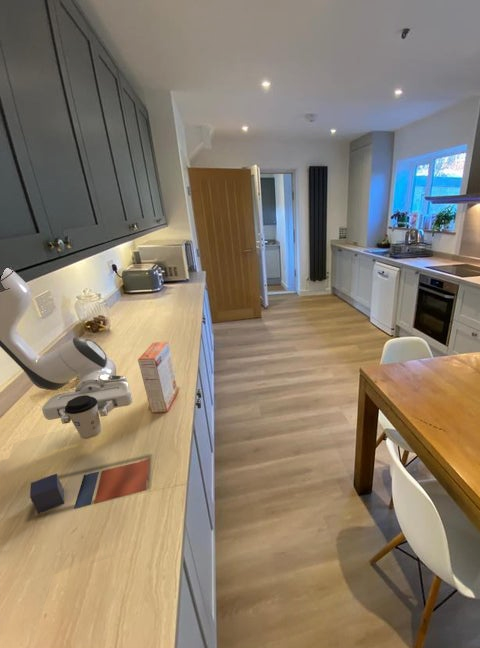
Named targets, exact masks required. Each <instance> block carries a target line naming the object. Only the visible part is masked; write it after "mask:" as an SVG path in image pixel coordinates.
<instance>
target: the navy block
mask: <svg viewBox="0 0 480 648" xmlns="http://www.w3.org/2000/svg"><path fill="white" fill-rule="evenodd" d="M29 491H30V492H29V498H30V500H31V502H32V504H33V506H34V508H35V511H36V512H37V515H39V514H42V513H45V512H47V511H49V510H52V509H54V508H56V507H59V506H61V505H64V504H65V492H64V491H65V490H64V487H63V484H62V482H61V480H60V477H59V475H58V473H54V474H51V475H48V476H45V477H43V478H41V479H38V480H35V481H32V482H30V489H29Z"/></svg>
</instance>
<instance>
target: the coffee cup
mask: <svg viewBox="0 0 480 648" xmlns="http://www.w3.org/2000/svg"><path fill="white" fill-rule="evenodd" d="M97 402H98V401H97V399H96V398H94V397H90V396H88V395H83V396H78V397H76V398H74V399H72V400H70V401H68V403H67V405H66V407H65V412H66V413H68V415H69V417H70V419H71V422H72V424H73V426H74V428H75V430H76V431H77V433H78V435H79V436H80V438H81V439H83V440H89V439H93V438H95V437H97V436H98V435H100V434H101V432H102V425H101V421H100V414H99V411H98V406H97Z"/></svg>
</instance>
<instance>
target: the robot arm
mask: <svg viewBox="0 0 480 648" xmlns="http://www.w3.org/2000/svg"><path fill="white" fill-rule="evenodd" d="M11 269H12V268H11ZM11 269H9V268H6V269H5V270H4V272H3V275H2V276H1V280H2V279H3V280H2V281H1V283H2V285H3V287H4V288H5V289H8V288H10V289H8V290H5V291H4V292H0V348H1V349H2V350H3V351H4V352H5V353H6V354H7V355H8V356H9V358H11V360H13V361H14V362H15V363H16V364H17V366H18V367H20V368H21V370H22V371H23V372H24V373H25V374H26V376H27V377H28V379H29V380H30V381H31V382H32V384H33V385H34V386H36V387H37V388H39V389H42V390H46V391H58V390H60V389H61V388H64V386H65V385H68V384H69V382H71V381H72V380H74V379H75V378H78V377H77V376H79V375H80V377H81V378H80V381H79V380H78V383H77V385H76V387H75V389H74V391H69V392H62V393H58V394H55V395H53V396H51V397H50V398H49V399H48V400H46V402H45V403H44V404H43V406H42V408H41V411H42V414H43V416H44V418H45V420H48V421H51V420H57V419H60V421H61V424H62V425H66V424H70V423H71V422H72V420H71V419H70V417H69V415H68V413H66V412H65V407H66V405H67V403H68V401H70V400H72V399H74V398H76V397H78V396H83V395H88V396H90V397H94V398H96V399H97V401H98V402H97V406H98V413H99V418H102V417H107V416H108V414H109V413H110V412H112V411H113V410H114V409H117V408H122V407H128V406H130V405H132V404H133V395H132V392H131V387H130V384H129V383H128V380H127V376H125V375H117V373H118V372H117V366H116V364H115V362H114V361H113V360H112V359H111V358H110V357H108V356H107V354H106V352H105V351H104V349H103V348H102V347H101V346H100V345H99V344H97V342H95V340H92V339H88V338H85V337H82V336H81V337H80V336H75V337H73V338H71V339H70V340H68V341H66V342H65V343H62V344H61V345H60V346H59V347H57V348H55V349H53V350H52V351H50V352H48V353H46V354H43V355H42V354H41V355H40V354H38V353H37V352H36V351H35V350H34V349H33V348H32V347H31V345H30V344H28V342H27V341H26V340H25V339H24V338H23V337H22V336H21V334H20V333H19V331H18V324H19V323H20V321H21V320H22V318H23V317H24V315H25V314H26V312H27V311H28V309H29V307H30V305H31V303H32V298H33V294H32V290H31V288H30V286H29V285H28V283H27V282H26V281H25V280H24V279H23V278H22V277H21V276H20V275H19V274H18V273H17V272H16V271H14V270H13V269H12V270H11ZM12 271H13V272H12Z"/></svg>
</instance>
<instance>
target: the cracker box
mask: <svg viewBox="0 0 480 648" xmlns="http://www.w3.org/2000/svg"><path fill="white" fill-rule="evenodd" d="M137 362H138V365H139V370H140V373H141V378H142V382H143V386H144V389H145V393H146V397H147V401H148V406H149V410H150V413H167V412H168V411H169V410H170V408H171V406H172V404H173V401H174V400H175V398H176V395H177V394H178V393H179V388H178V382H177V379H176V374H175V368H174V364H173V357H172V353H171V347H170V343H169V341H164V342H163V341H162V342H159V341H158V342H157V341H156V342H152V343H151V344H150V346H149V347H147V349H146V350H145V351H144V352H143V353H142V355H140V356H139V358H138V359H137Z"/></svg>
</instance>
